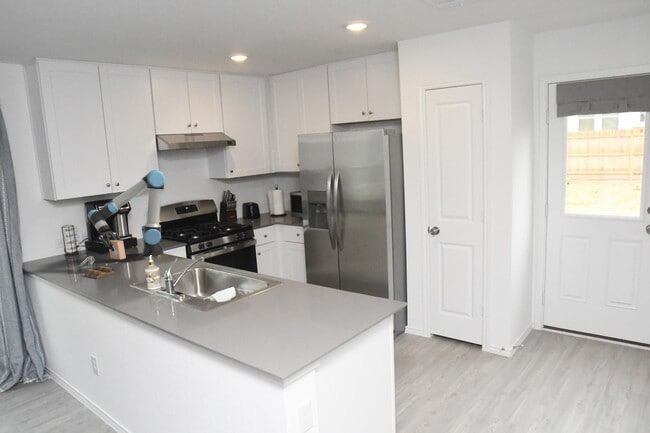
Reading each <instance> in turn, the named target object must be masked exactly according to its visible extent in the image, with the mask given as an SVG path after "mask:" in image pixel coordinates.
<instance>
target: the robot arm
mask: <svg viewBox="0 0 650 433" xmlns="http://www.w3.org/2000/svg"><path fill="white" fill-rule="evenodd" d="M165 183H166V175H165V174H164V172H162V171H161V170H156V169H153V170H150V171H149V172H148V173H147V174H145V175H144V176H143V177H142V178H141V179H140V181H138V182H137V183H135V184H133V185H132V186H131V187H129V188H127V189H126V190H125V191H123V192H122V193H121V194H118V195H117V196H115V197H114V198H113V199H111V200H110V201H108V202H106V203H105V204H104V205H103V207H101V208H99V209H98V210H97V209H91V210H90V211H89V212H88V214H87V217H88V218H89V219H88V220H89V221H90V222H91V224H92V225H93V226H94V227H95V229H96V231H98V233H99V236H98V240H99V241H101V243H102V244H103V245H104V247H105V248H106V249H111V250H112V251H113V252H114V253H115V254H116V255H117V254H118V252H117V250H116V249H115V247H114V246H112V244H111V242H110V241H111V240H119V241H123V240H122V238H121V237H120V235H119V233H118V232H117V231H116V232H114V231H113V230H112V229H111V228H110V226H109V224H108V223H107V221H106V219H107V218H110V217H111V216H112V215H115V214H116V213H117V212H119V209H120V208H121V207H122V206H124V205H126V204H127V203H129V202H131V201H132V200H133V199H135V198H136V197H138V196H139V195H141V194H142V193H144V192H146V191H147V190H148V200H147V213H146V215H147V216H146V223H145V224H144V225H142V226H141V234H142V241H143V249H142V256H143V257H150V256H149V255H153V256H152V257H154V256H158V255H162V254H163V253H165V252H164V248H163V246H162V244H161V239H162V234H161V231H162V225H161V224H160V213H161V206H162V204H161V202H162V192H163V191H164V189H165Z"/></svg>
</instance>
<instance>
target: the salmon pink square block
mask: <svg viewBox="0 0 650 433" xmlns="http://www.w3.org/2000/svg"><path fill="white" fill-rule="evenodd" d="M110 242H111V244H112V246H114V247H115V249H116V250H117V252H118V254H117V255H116V254H115V253H114V252H113V251H112V250H111V249H109V248H108V249H109V256H110V259H115V260H124V259H126V258H127V256H126V252H125V245H124V240H122V241H119V240H111V239H110Z"/></svg>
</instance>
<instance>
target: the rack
mask: <svg viewBox="0 0 650 433" xmlns="http://www.w3.org/2000/svg"><path fill="white" fill-rule="evenodd" d="M96 268H97V270H96V269H91V268H87V269H86V273H84V276H85V277H89V278H92V279H93V278H94V279H101V278H104V277H107V275H108V276H110V275H114V274H115V272H116V271H115V270H113V268H112V267H108V266H101V265H99V266H97V267H96ZM100 277H101V278H100Z"/></svg>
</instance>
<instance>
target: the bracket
mask: <svg viewBox="0 0 650 433" xmlns="http://www.w3.org/2000/svg"><path fill="white" fill-rule="evenodd" d="M95 261H96V259H95V257H94V256H93V255H88V256H87V257H86V258H85V259H84V260H83V261H82V262H81V263H80V264H79V265H78V266H77V267H76V268H74V270H72V272H73V273H75V274H76V273H77V272H78V271H79V270H80V269H81V268H82V267H83V266H84V265H85V264H86V263H87V262H88V266H92V265H94V262H95Z"/></svg>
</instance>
